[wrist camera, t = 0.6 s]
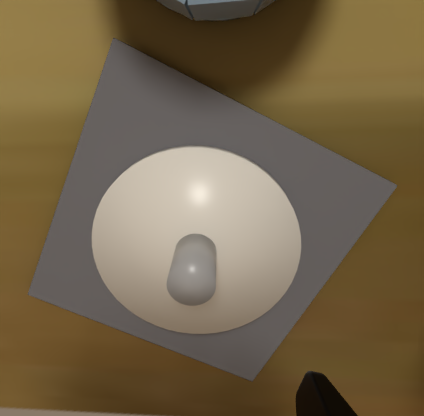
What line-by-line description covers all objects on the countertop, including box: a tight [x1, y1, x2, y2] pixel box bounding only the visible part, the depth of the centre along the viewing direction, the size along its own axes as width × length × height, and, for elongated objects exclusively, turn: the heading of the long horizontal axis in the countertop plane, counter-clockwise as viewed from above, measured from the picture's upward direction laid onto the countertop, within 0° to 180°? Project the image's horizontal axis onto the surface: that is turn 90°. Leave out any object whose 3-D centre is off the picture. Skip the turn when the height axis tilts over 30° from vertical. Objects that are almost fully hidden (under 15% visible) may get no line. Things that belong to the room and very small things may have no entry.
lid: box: [92, 145, 301, 334], centre depth 20 cm, size 13×13×4 cm
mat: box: [28, 38, 397, 381], centre depth 22 cm, size 18×18×1 cm
